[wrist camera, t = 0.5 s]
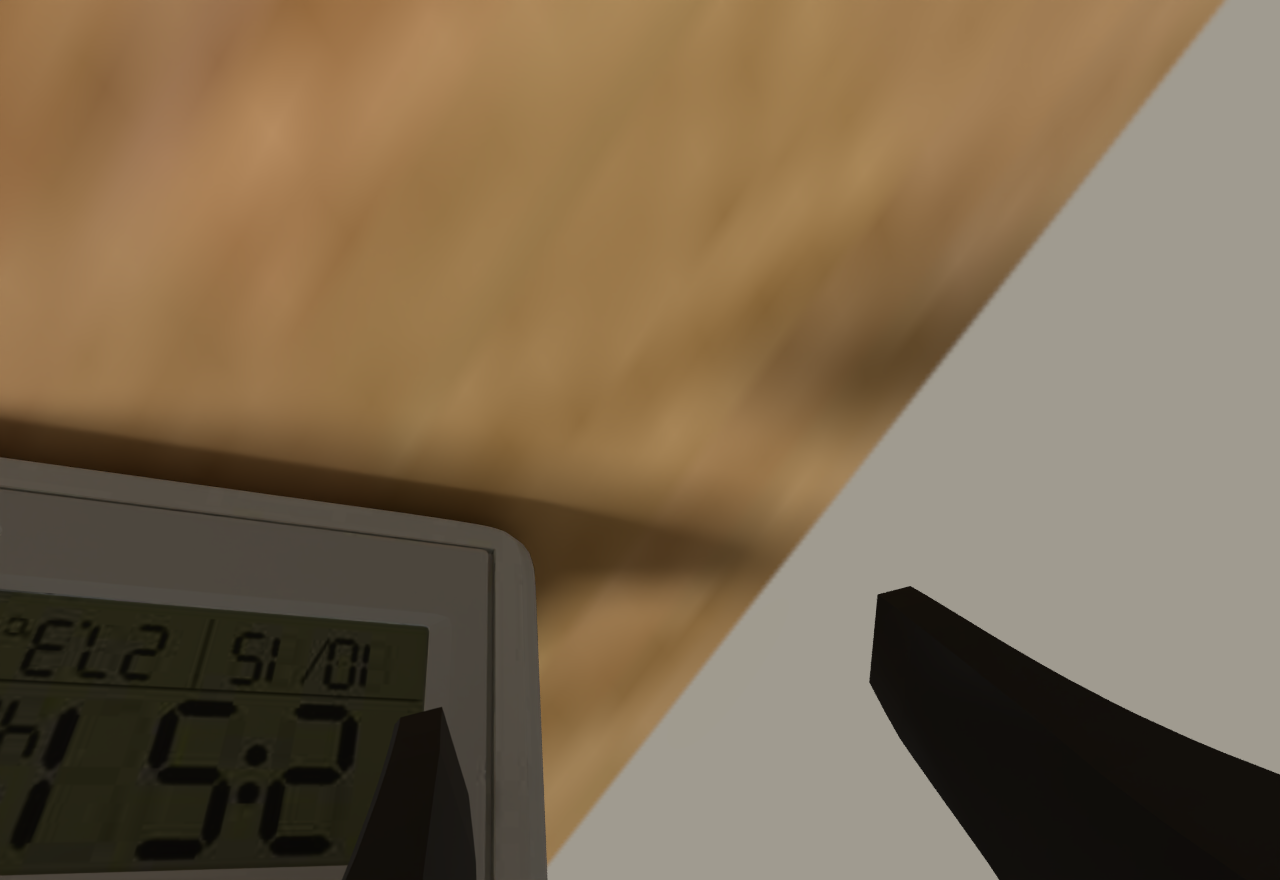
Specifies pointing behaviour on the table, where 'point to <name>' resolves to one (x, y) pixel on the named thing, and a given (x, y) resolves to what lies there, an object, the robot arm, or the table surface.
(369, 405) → the table surface
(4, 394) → the table surface
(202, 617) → the digital clock
